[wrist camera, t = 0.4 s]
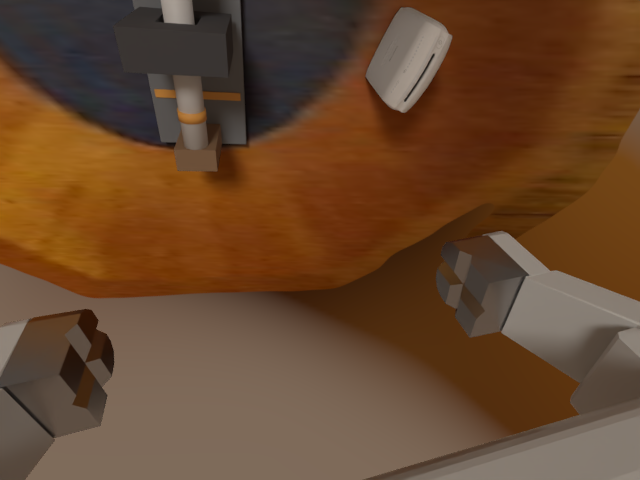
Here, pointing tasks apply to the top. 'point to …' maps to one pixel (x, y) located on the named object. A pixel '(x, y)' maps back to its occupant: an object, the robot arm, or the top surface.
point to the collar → (175, 44)
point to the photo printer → (408, 58)
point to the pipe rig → (200, 94)
